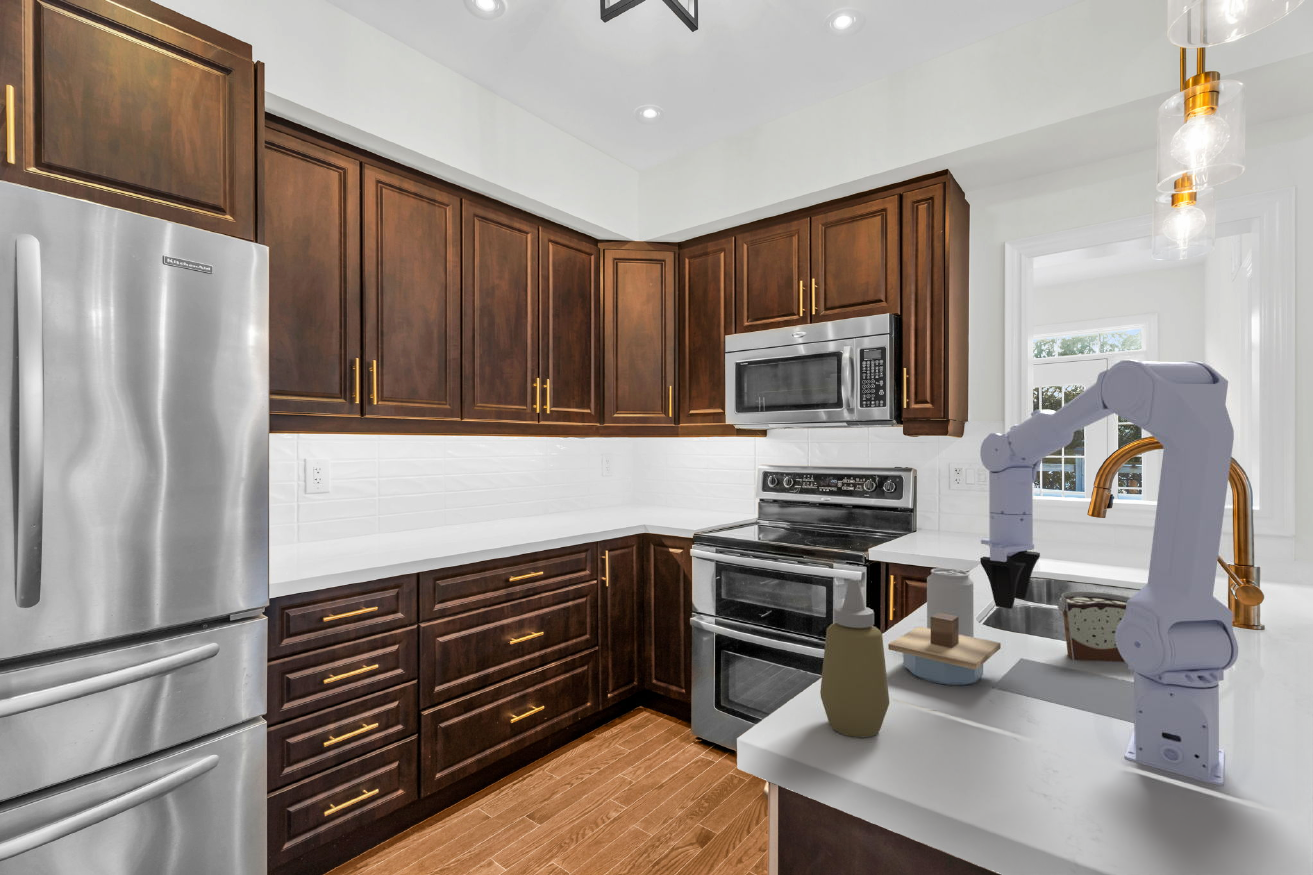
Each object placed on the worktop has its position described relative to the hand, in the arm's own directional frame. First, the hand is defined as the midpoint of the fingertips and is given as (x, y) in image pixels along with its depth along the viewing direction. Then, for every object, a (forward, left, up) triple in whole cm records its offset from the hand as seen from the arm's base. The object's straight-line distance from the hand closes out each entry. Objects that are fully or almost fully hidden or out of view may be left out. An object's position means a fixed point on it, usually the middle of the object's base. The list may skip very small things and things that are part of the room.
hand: (1010, 602), depth 94 cm
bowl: (-9, +7, -10) cm, 15 cm away
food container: (+16, -8, -11) cm, 21 cm away
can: (+10, +12, -11) cm, 19 cm away
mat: (-2, -8, -10) cm, 13 cm away
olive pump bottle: (-34, +9, -11) cm, 37 cm away
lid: (-9, +7, -6) cm, 13 cm away
